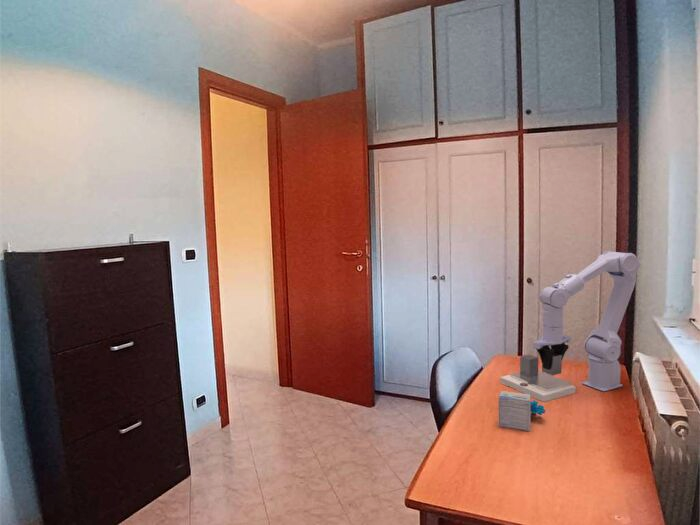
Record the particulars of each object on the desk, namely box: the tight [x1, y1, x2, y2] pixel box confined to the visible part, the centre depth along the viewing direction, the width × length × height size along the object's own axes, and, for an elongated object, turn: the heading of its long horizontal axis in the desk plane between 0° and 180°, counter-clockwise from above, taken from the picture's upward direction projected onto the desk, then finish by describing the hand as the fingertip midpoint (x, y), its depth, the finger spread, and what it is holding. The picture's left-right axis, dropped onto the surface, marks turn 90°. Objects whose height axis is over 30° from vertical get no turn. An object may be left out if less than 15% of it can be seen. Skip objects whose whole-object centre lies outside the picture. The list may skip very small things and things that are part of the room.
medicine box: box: [498, 390, 532, 432], centre depth 123 cm, size 8×4×9 cm, turn 65°
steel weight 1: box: [519, 354, 539, 377], centre depth 153 cm, size 4×4×6 cm
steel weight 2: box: [541, 352, 563, 376], centre depth 145 cm, size 4×4×6 cm
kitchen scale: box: [499, 370, 576, 403], centre depth 149 cm, size 14×18×3 cm
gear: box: [531, 399, 546, 416], centre depth 128 cm, size 11×6×10 cm
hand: (551, 367), depth 145 cm, fingers closed on steel weight 2, 4 cm apart
